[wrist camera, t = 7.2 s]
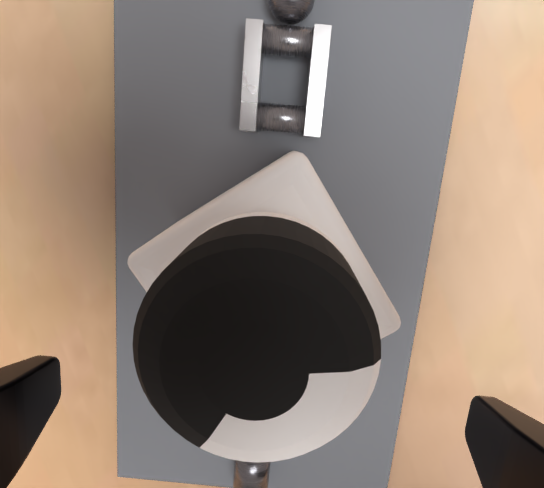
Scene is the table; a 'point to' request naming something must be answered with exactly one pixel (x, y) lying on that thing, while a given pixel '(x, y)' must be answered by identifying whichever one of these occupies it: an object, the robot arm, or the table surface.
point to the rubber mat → (263, 151)
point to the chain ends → (281, 113)
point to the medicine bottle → (260, 319)
